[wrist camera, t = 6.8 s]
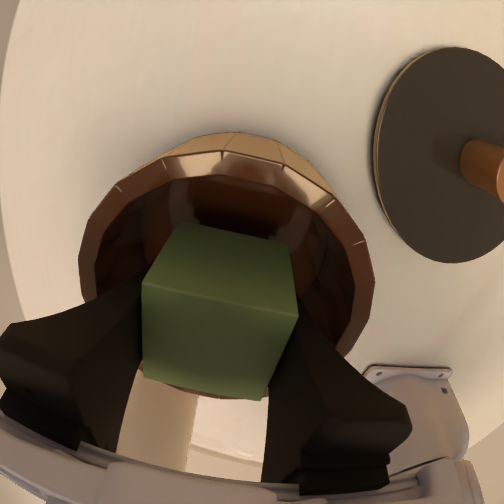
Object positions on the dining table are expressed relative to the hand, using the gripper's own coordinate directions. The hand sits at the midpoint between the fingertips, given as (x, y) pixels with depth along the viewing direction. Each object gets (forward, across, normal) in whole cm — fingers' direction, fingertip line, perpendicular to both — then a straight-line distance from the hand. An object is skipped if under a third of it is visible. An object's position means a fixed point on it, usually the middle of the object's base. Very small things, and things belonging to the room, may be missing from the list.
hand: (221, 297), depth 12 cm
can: (+5, +3, +12) cm, 13 cm away
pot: (+5, 0, 0) cm, 5 cm away
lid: (+4, -12, -8) cm, 15 cm away
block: (+1, 0, 0) cm, 1 cm away
